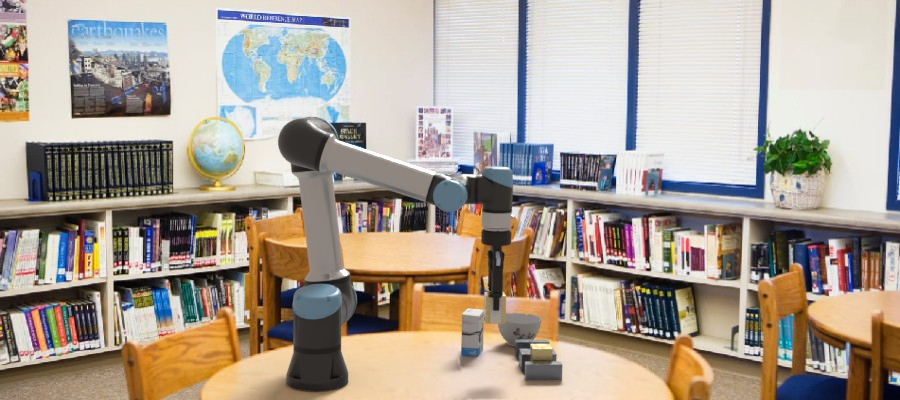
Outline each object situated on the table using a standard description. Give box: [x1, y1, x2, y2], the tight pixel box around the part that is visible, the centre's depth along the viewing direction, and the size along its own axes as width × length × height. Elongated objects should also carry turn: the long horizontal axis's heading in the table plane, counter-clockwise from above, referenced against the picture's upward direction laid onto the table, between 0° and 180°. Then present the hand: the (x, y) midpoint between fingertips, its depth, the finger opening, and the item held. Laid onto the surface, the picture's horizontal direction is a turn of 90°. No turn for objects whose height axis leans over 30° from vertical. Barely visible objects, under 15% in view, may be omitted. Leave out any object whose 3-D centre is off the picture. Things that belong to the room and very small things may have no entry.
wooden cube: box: [530, 343, 554, 361], centre depth 252 cm, size 5×5×7 cm
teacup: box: [497, 312, 542, 347], centre depth 282 cm, size 15×12×8 cm
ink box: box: [460, 308, 485, 358], centre depth 270 cm, size 8×5×12 cm, turn 168°
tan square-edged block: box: [483, 291, 507, 325], centre depth 250 cm, size 5×5×7 cm
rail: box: [514, 339, 563, 381], centre depth 258 cm, size 9×24×4 cm, turn 3°
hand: (494, 319), depth 250 cm, fingers closed on tan square-edged block, 5 cm apart
